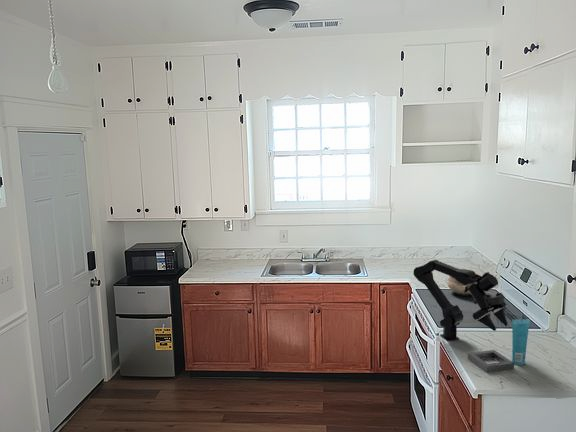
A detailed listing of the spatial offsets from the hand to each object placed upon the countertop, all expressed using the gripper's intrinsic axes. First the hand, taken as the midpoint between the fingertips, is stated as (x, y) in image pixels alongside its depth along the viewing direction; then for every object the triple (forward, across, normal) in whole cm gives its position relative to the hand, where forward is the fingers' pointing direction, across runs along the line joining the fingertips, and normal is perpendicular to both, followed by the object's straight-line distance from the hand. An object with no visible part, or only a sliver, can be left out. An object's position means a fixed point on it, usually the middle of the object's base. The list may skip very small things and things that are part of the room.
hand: (501, 327), depth 209 cm
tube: (+15, 0, +3) cm, 16 cm away
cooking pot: (-30, +62, +51) cm, 86 cm away
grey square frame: (+10, -10, +8) cm, 16 cm away
